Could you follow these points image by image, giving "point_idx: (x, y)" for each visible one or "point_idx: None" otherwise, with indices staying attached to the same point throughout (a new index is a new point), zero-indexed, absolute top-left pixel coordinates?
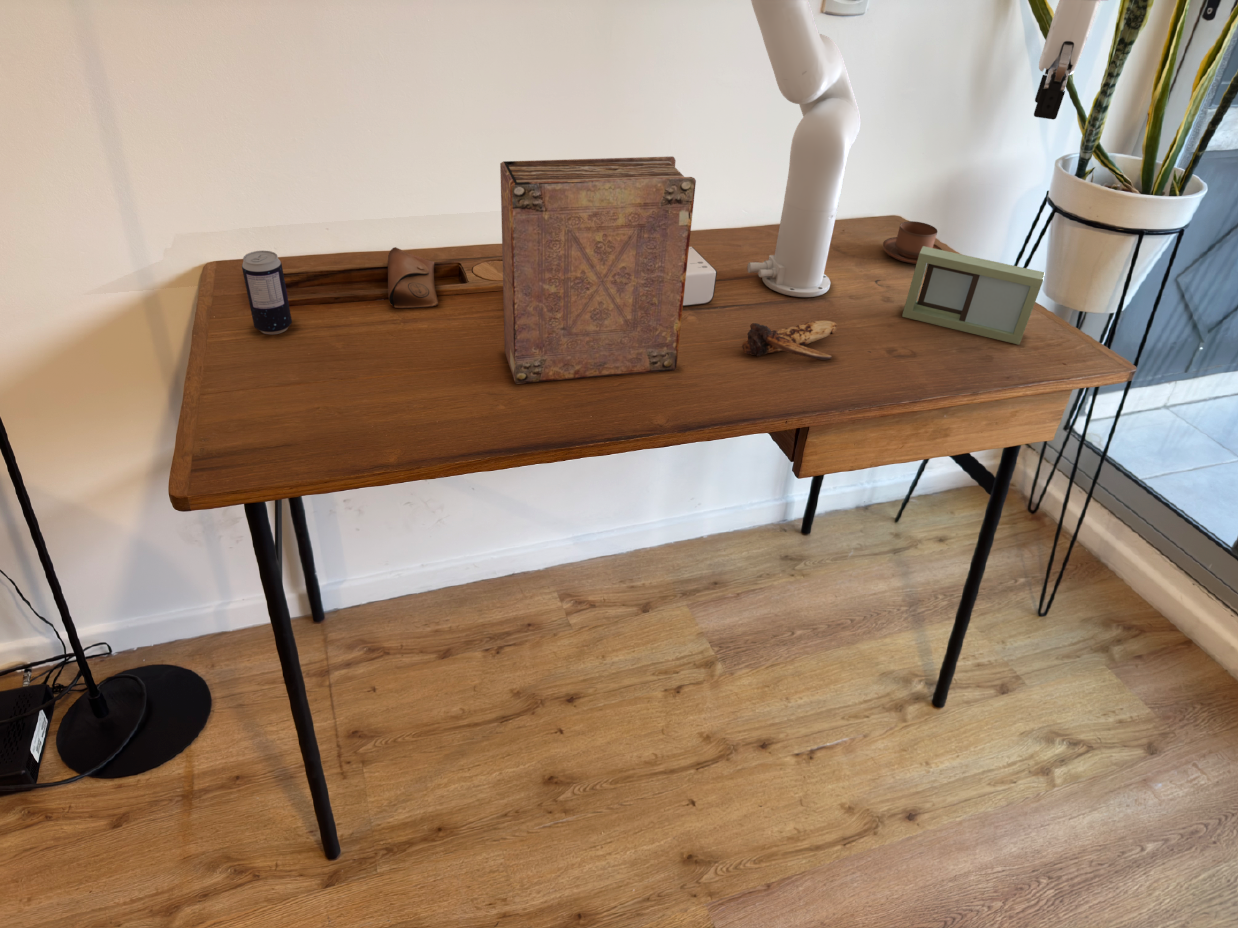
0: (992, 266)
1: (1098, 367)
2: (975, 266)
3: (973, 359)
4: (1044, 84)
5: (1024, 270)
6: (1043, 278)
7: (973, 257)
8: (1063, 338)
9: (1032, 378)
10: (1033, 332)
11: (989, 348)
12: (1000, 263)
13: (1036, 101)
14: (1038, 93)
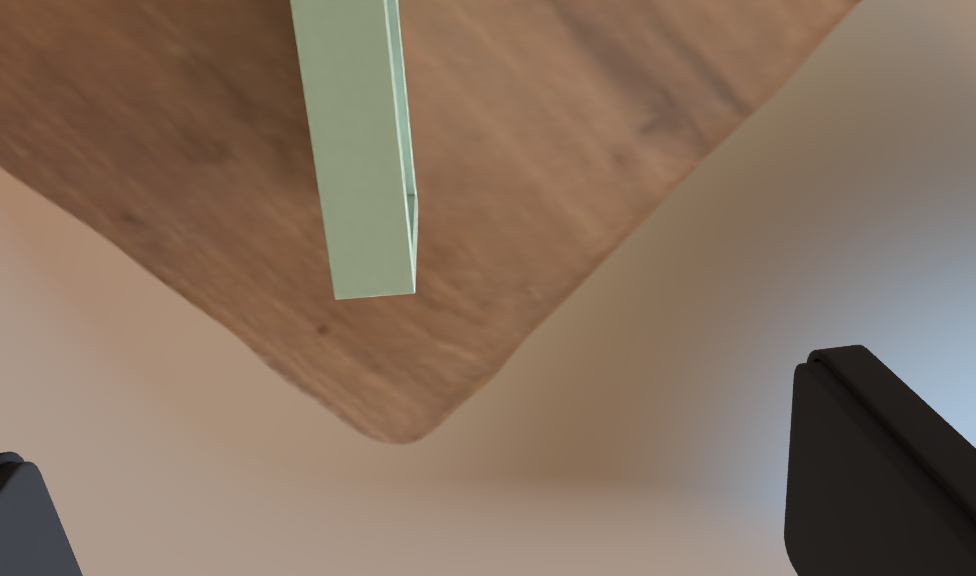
0: (334, 115)
1: (363, 400)
2: (298, 50)
3: (167, 114)
4: (921, 550)
5: (379, 230)
6: (352, 297)
7: (380, 25)
8: (483, 309)
9: (177, 274)
10: (471, 235)
11: (275, 143)
12: (388, 138)
13: (795, 370)
14: (853, 419)
